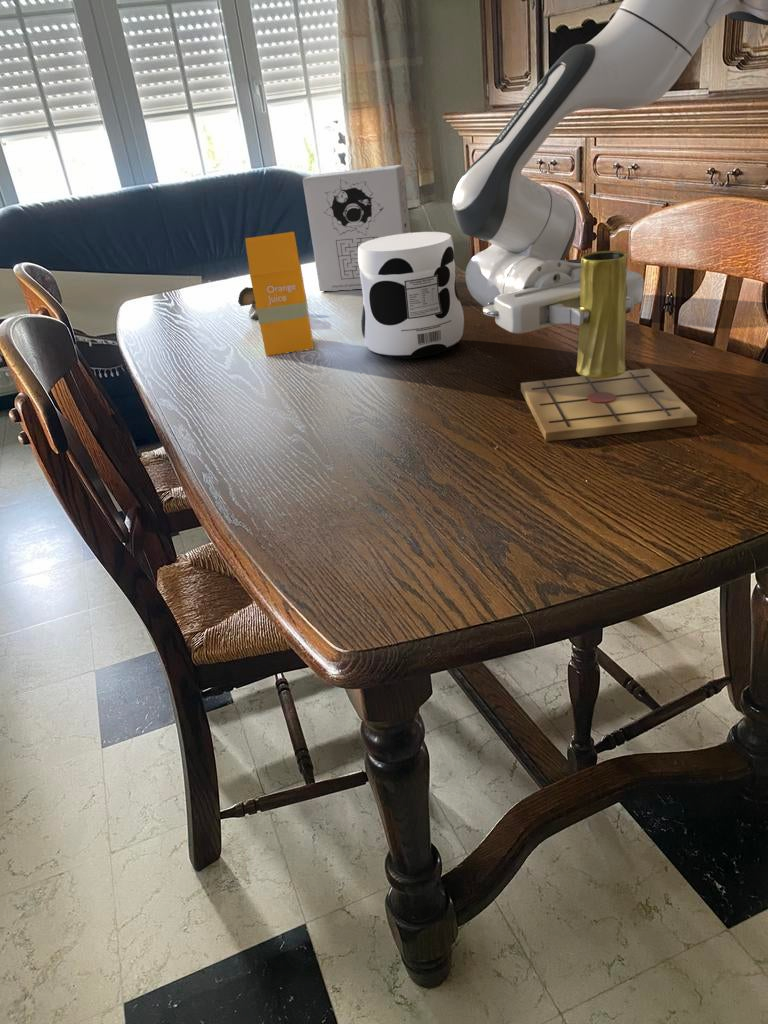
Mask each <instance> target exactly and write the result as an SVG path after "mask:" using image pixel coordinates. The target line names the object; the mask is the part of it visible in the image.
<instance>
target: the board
mask: <svg viewBox="0 0 768 1024" xmlns="http://www.w3.org/2000/svg"><path fill="white" fill-rule="evenodd" d="M520 392H521V393H522V396H523V398H524V400H525V402H526V404H527V407H528V408H529V411H530V413H531V415H532V416H533V419H534V420H535V423H536V425H537V426H538V427H537V428H538V429H539V431H540V433H541V435H542V437H543V439H544V441H545V443H547V442H555V441H556V442H557V441H565V440H572V439H573V440H574V439H584V438H593V437H601V436H602V437H603V436H609V435H619V434H628V433H636V432H637V433H638V432H646V431H647V432H648V431H655V430H663V429H664V430H665V429H673V428H674V429H675V428H681V427H693V426H697V424H698V415H697V414H695V412H693V410H691V408H690V407H688V405H687V404H686V403H684V402H683V400H682V399H681V398H680V397H678V395H677V394H676V393H675V392H674V391H673V390H672V389H671V388H670V387H669V386H668V385H666V384H665V382H664V381H662V379H661V378H660V377H658V375H657V374H656V373H655V372H654V371H653V370H652V369H651V368H650V367H649V368H640V369H639V368H638V369H632V370H625V372H624V373H622V374H621V375H618V376H615V377H610V378H588V377H584V376H581V375H579V376H571V377H570V376H569V377H562V378H555V379H554V378H553V379H552V378H551V379H544V380H535V381H526V382H525V381H524V382H520Z"/></svg>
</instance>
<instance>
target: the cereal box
mask: <svg viewBox="0 0 768 1024" xmlns="http://www.w3.org/2000/svg"><path fill="white" fill-rule="evenodd" d="M405 171H406V170H405V165H404V164H397V165H396V164H395V165H387V166H378V167H370V168H369V167H368V168H360V169H352V170H351V169H350V170H342V171H341V170H340V171H333V172H323V173H315V174H311V175H308V176H305V177H303V178H302V185H303V192H304V197H305V205H306V210H307V217H308V223H309V230H310V237H311V244H312V250H313V255H314V256H313V257H314V260H315V261H314V262H315V268H316V275H317V280H318V287H319V292H320V291H334V290H350V291H353V290H352V289H362V285H361V279H360V268H359V263H358V247H359V246H360V245H361V244H362V243H364V242H367V241H369V240H373V239H377V238H381V237H386V236H391V235H397V234H405V233H411V225H410V213H409V204H408V203H409V202H408V193H407V181H406V172H405Z"/></svg>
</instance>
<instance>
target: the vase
mask: <svg viewBox="0 0 768 1024" xmlns="http://www.w3.org/2000/svg"><path fill="white" fill-rule="evenodd" d="M580 259H581V296H580V307H583V308H586V309H589V311H590V316H589V318H590V320H589V323H587V324H583V325H580V326H578V339H577V340H578V341H577V356H576V357H577V358H576V359H577V360H576V368H575V371H576V373H577V374H578V375H579V376H584V377H588V378H610V377H615V376H618V375H621V374H622V373H624V372H625V371H627V366H626V344H627V343H626V335H627V334H626V326H627V325H626V324H627V321H626V320H627V313H626V272H627V270H628V269H627V267H628V254H627V252H624V251H621V250H601V251H592V252H589V253H585V254H583V255H582V256H581V258H580Z"/></svg>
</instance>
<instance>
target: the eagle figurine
mask: <svg viewBox="0 0 768 1024" xmlns="http://www.w3.org/2000/svg"><path fill="white" fill-rule="evenodd" d="M237 303H238V304H239V306H240V307H245V306H250V308H249V311H248V317H250V316H251V317H250V319H251V320H252V321H255V322H257V321H258V320H259V319H258V314H257V307H256V302H255V297H254V292H253V287H248V286H246V287H244V288H243V289H242V290H241V291H240V292H239V293H238V300H237Z"/></svg>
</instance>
